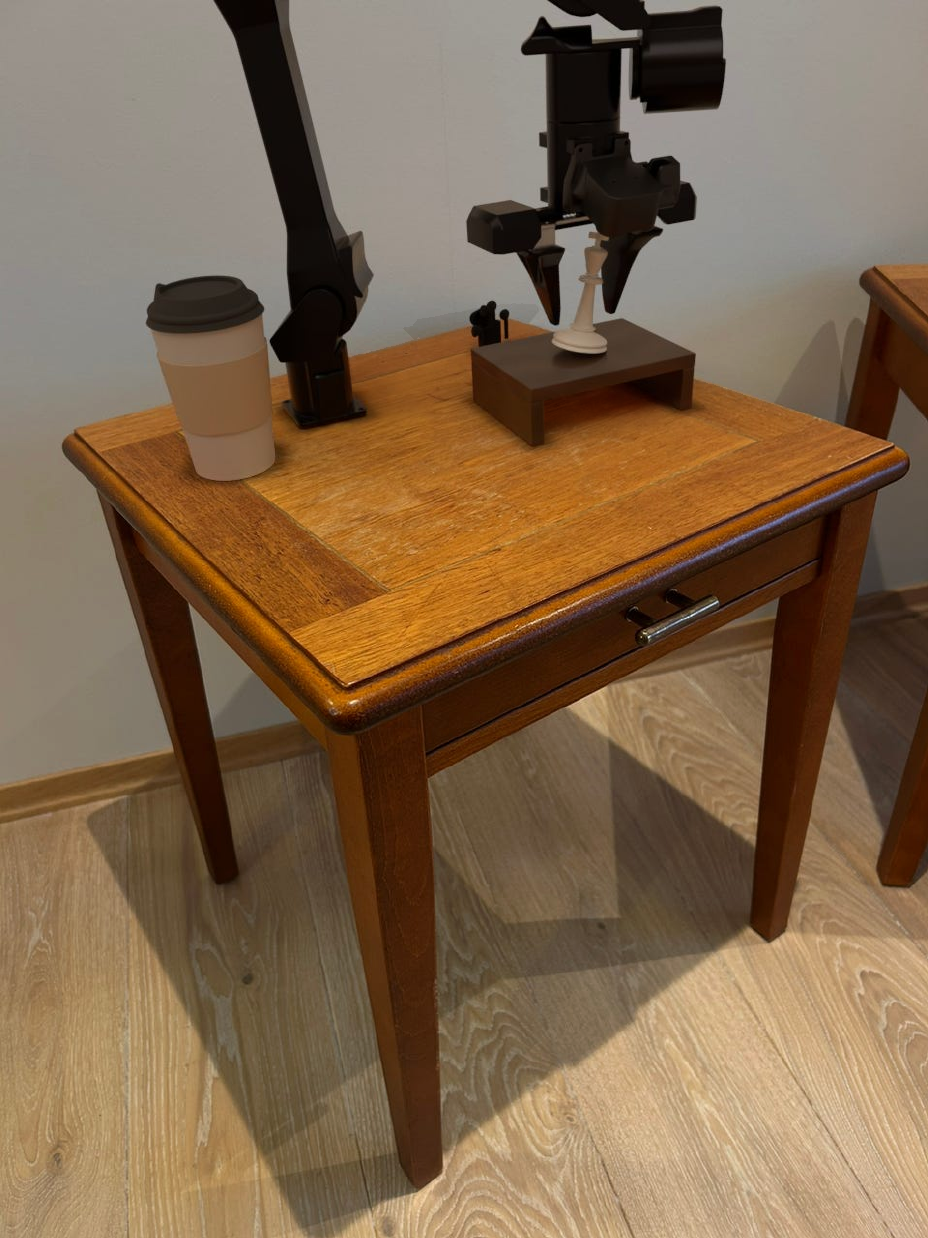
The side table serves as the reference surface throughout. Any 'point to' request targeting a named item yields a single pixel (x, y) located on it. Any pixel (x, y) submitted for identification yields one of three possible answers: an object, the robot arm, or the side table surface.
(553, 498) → the side table surface
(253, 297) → the coffee cup
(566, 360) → the shelf
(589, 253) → the chess piece
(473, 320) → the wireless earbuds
